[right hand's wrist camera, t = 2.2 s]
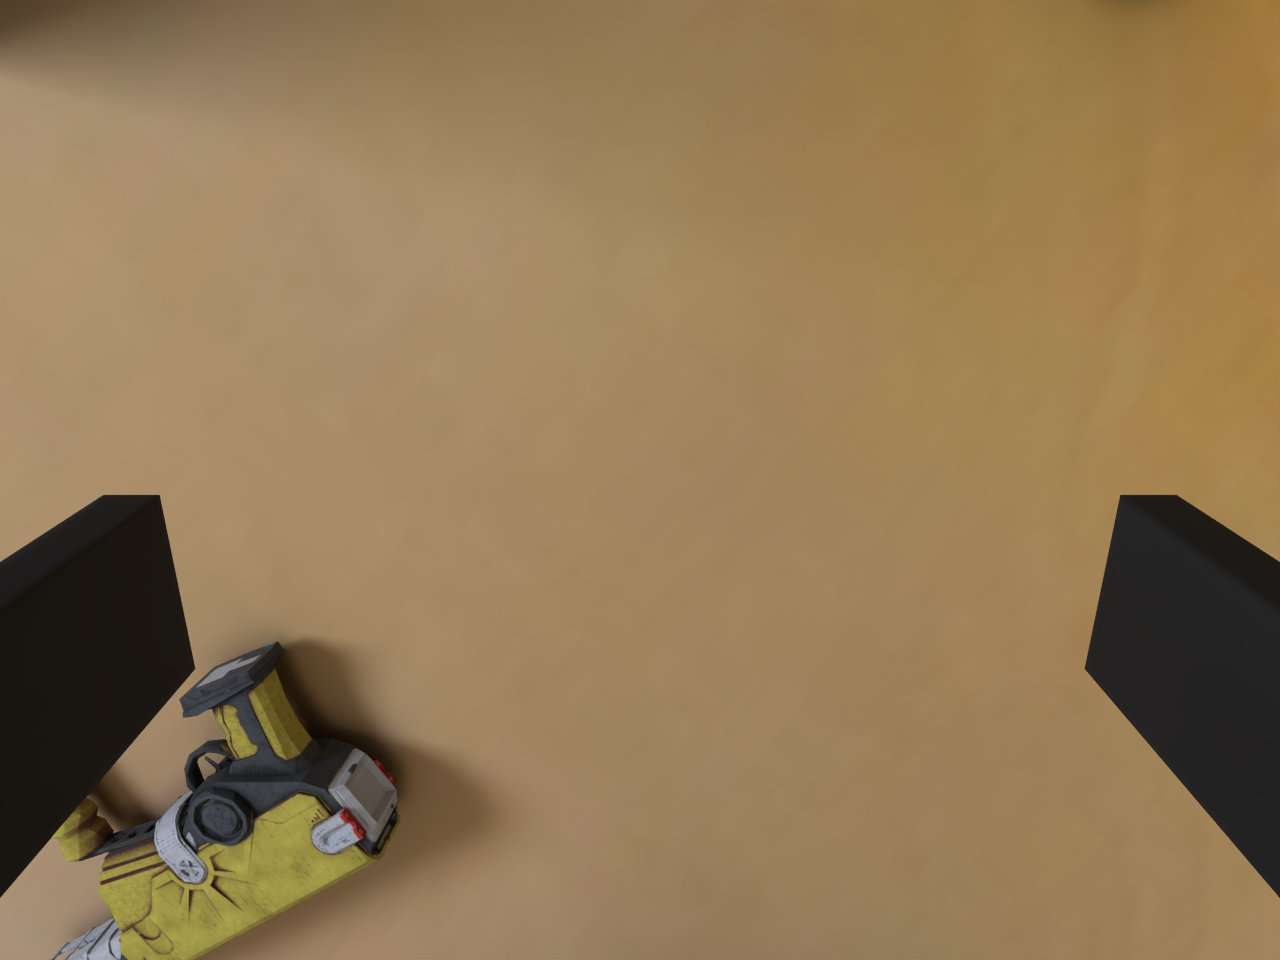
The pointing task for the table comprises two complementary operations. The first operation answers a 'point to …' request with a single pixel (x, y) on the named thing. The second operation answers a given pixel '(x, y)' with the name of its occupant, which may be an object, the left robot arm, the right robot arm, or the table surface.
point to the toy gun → (234, 827)
